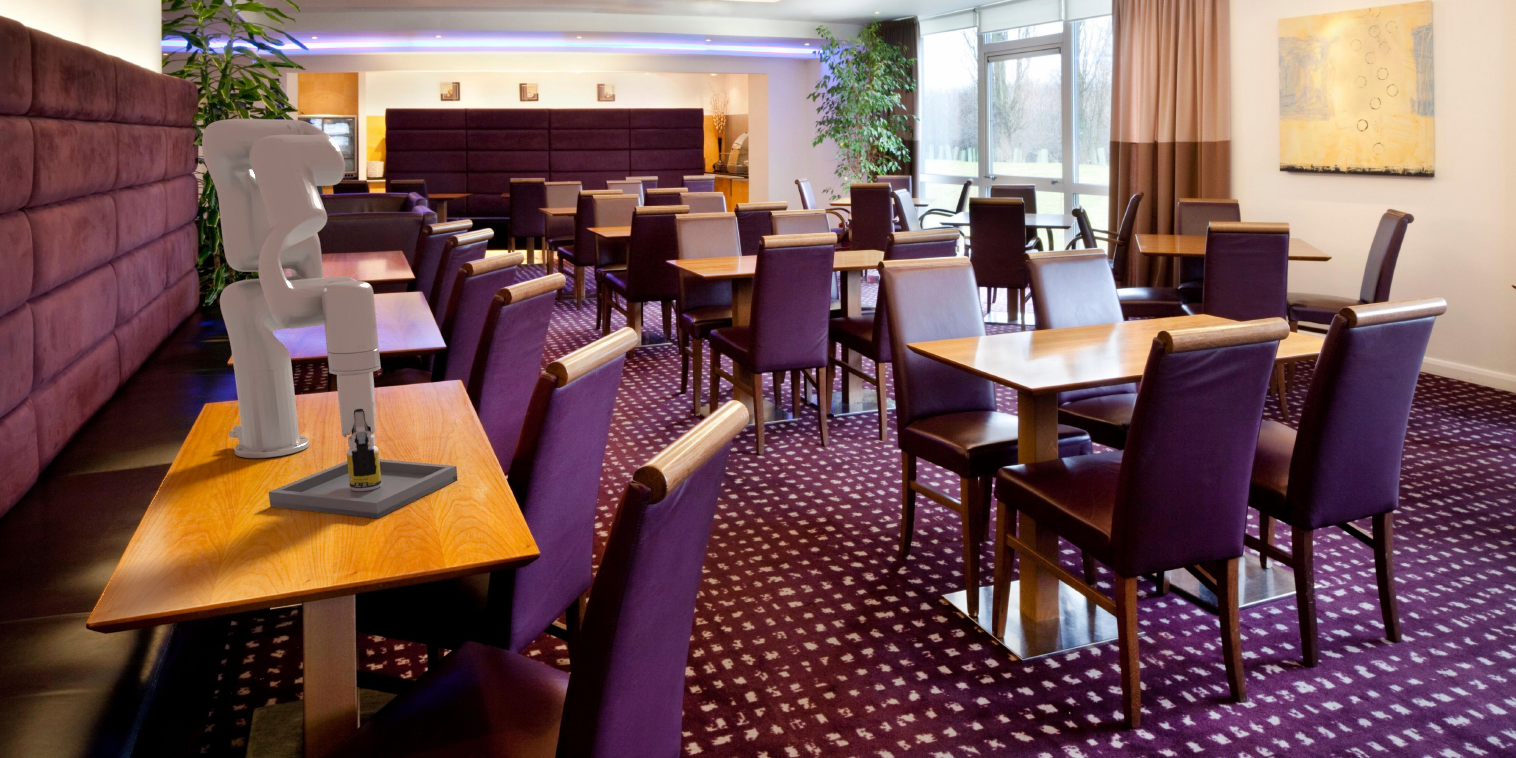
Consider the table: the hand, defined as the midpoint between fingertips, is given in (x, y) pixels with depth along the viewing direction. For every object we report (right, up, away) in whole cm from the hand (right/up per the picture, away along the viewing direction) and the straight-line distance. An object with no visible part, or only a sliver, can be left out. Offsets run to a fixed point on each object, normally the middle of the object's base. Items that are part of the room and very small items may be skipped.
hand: (364, 466), depth 168 cm
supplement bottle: (0, -4, +1) cm, 4 cm away
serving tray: (0, -4, +1) cm, 4 cm away
